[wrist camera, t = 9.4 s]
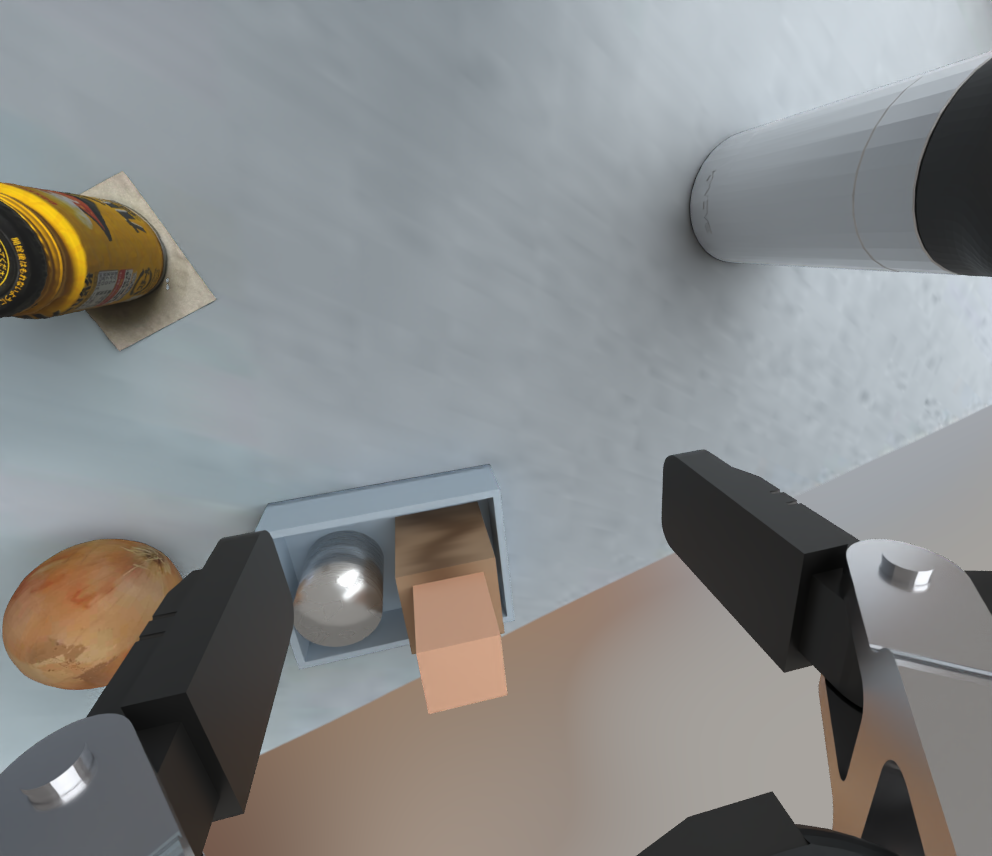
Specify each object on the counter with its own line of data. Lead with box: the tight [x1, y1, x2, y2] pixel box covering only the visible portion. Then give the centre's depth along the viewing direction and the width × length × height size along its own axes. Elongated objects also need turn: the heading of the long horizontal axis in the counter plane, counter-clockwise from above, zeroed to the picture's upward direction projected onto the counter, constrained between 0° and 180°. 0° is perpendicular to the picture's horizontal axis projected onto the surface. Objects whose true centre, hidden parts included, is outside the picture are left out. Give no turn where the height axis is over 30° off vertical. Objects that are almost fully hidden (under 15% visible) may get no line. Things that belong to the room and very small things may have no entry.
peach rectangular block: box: [413, 572, 507, 714], centre depth 32 cm, size 5×5×6 cm
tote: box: [255, 464, 515, 669], centre depth 40 cm, size 18×13×4 cm
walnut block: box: [395, 502, 504, 654], centre depth 38 cm, size 7×7×8 cm
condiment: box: [0, 171, 216, 351], centre depth 25 cm, size 7×8×12 cm
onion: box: [3, 539, 182, 690], centre depth 33 cm, size 10×10×10 cm
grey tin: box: [293, 530, 384, 647], centre depth 38 cm, size 6×6×6 cm
